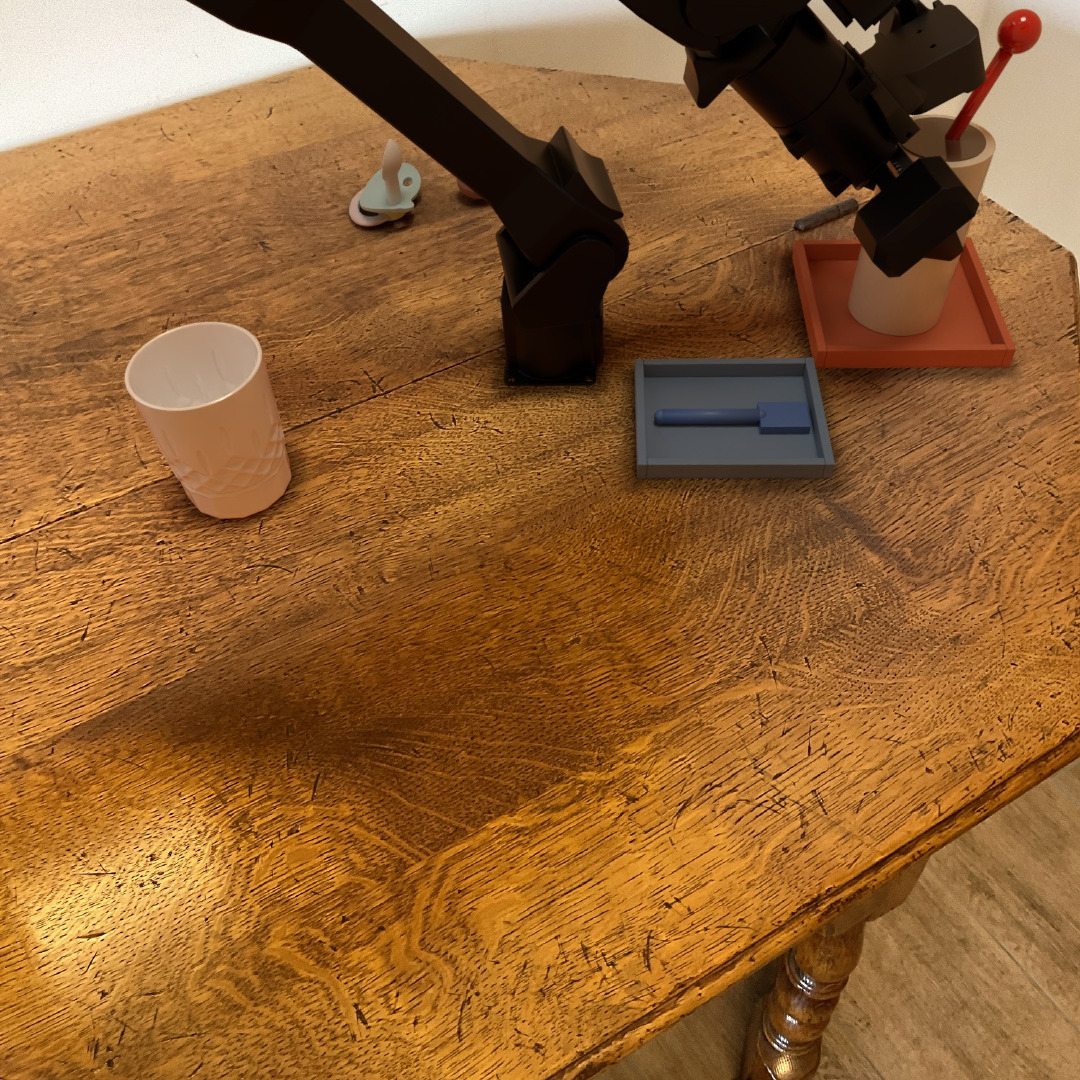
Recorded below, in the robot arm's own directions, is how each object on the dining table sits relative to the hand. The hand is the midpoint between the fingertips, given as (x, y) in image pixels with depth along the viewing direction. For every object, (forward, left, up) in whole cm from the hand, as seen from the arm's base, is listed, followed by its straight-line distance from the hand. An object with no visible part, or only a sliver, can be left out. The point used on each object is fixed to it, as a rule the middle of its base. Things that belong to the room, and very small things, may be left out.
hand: (935, 226), depth 68 cm
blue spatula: (-14, -12, -7) cm, 20 cm away
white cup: (-46, -17, -7) cm, 50 cm away
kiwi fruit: (-33, +17, -7) cm, 38 cm away
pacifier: (-41, +15, -7) cm, 45 cm away
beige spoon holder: (-1, 0, -7) cm, 7 cm away
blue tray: (-14, -12, -7) cm, 20 cm away
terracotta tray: (-1, 0, -7) cm, 7 cm away
